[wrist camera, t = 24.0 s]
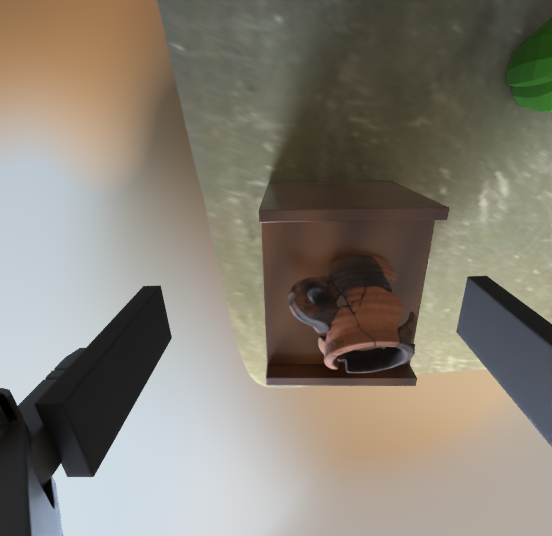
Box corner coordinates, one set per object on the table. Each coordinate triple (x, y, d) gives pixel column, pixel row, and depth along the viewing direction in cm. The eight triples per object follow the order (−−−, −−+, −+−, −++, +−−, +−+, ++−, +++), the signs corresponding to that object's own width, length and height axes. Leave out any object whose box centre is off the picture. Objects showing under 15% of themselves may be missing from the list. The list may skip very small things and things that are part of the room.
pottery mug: (421, 261, 30) (453, 346, 25) (359, 309, 36) (375, 383, 32) (306, 227, 25) (317, 320, 21) (261, 287, 32) (262, 369, 27)
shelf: (391, 180, 39) (449, 207, 25) (376, 309, 46) (415, 386, 32) (268, 183, 40) (258, 210, 26) (272, 310, 46) (266, 385, 33)
